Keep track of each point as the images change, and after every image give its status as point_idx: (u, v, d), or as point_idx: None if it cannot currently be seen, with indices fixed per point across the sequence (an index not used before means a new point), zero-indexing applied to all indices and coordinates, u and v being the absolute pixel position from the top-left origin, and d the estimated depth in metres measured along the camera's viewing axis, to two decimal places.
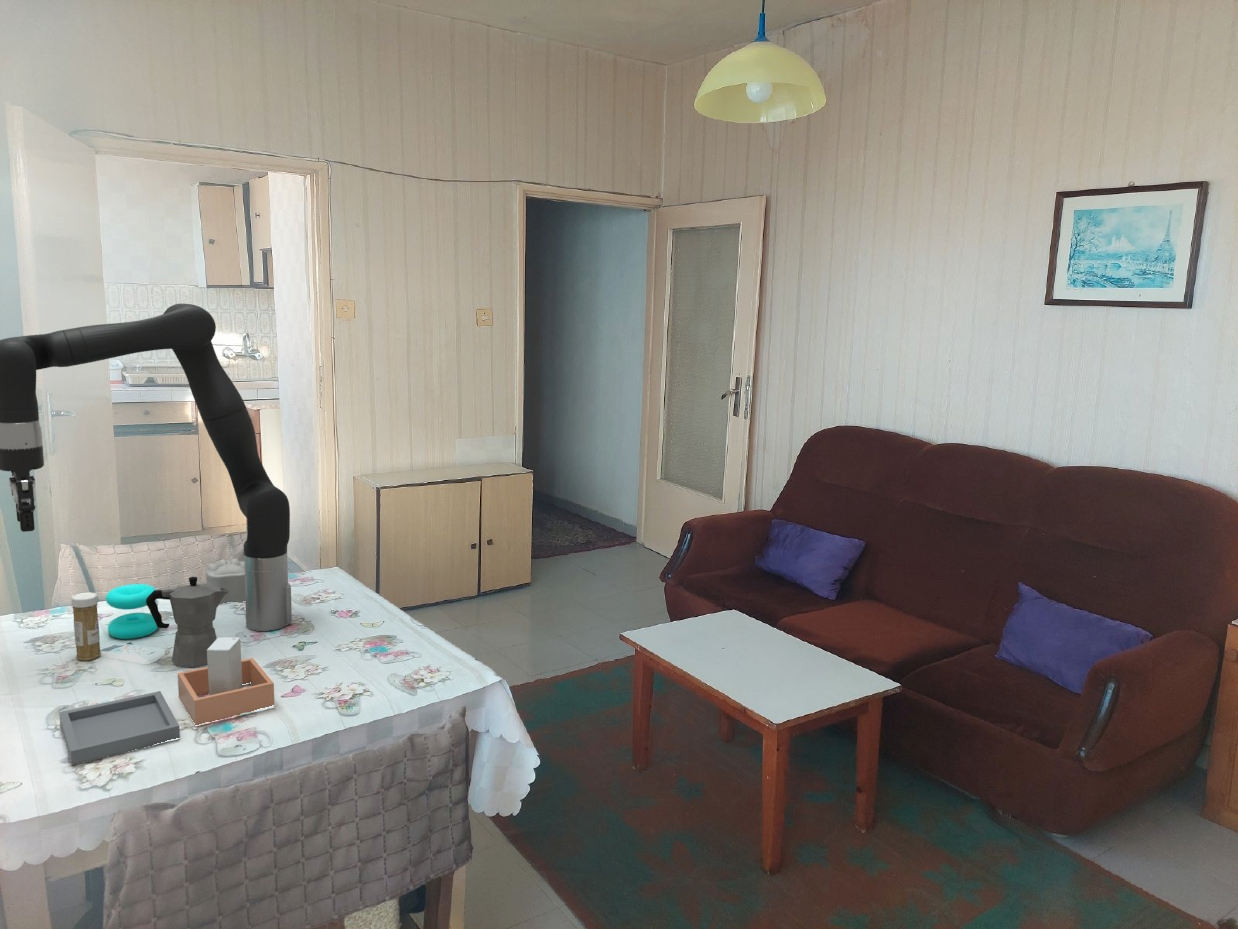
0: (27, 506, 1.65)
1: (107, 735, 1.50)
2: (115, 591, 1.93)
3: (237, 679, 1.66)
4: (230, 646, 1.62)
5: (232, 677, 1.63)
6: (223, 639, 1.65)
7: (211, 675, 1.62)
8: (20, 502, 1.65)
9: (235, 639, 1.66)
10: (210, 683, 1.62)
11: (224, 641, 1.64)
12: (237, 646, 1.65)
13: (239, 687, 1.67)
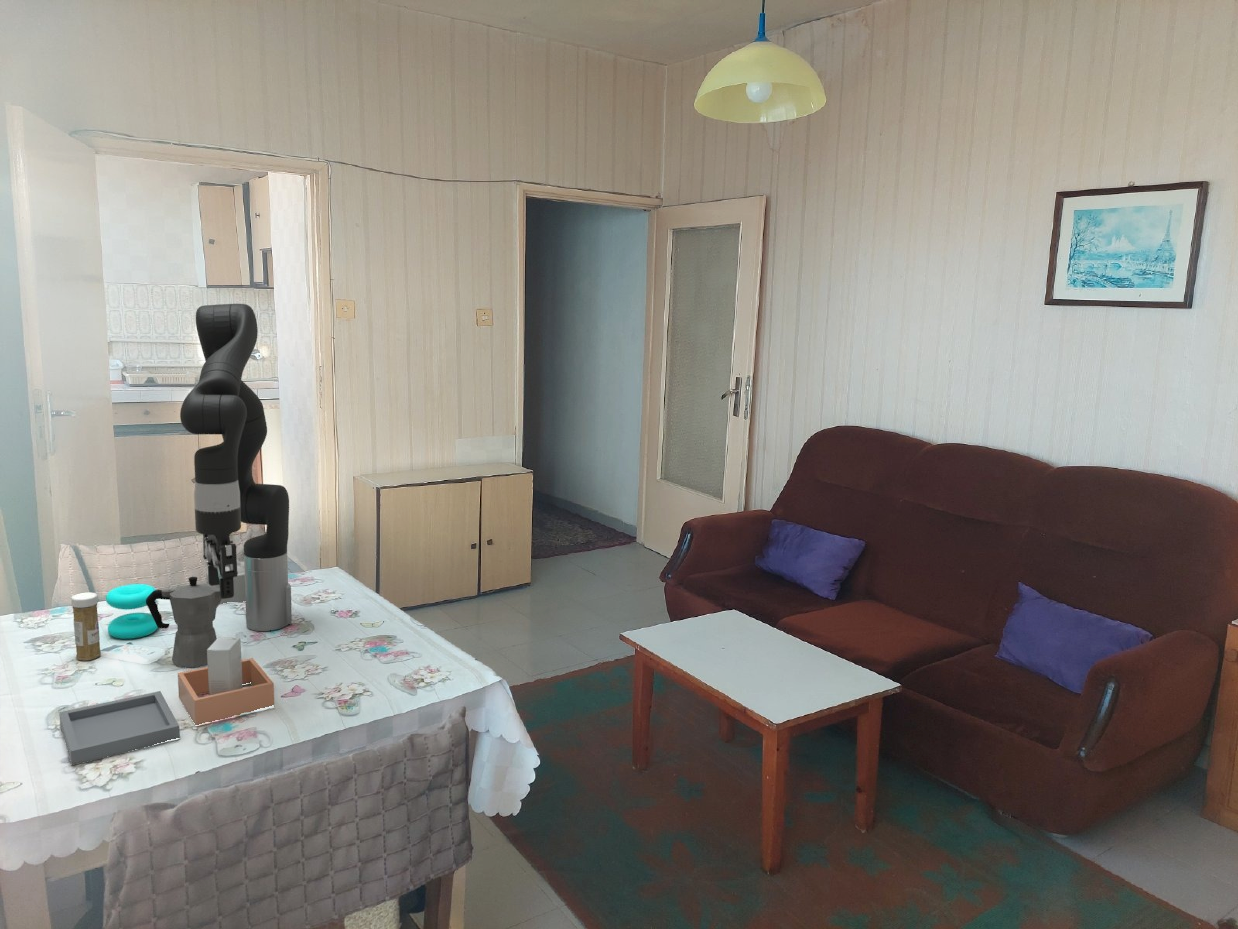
0: (230, 572, 1.55)
1: (107, 735, 1.50)
2: (115, 591, 1.93)
3: (237, 679, 1.66)
4: (230, 646, 1.62)
5: (232, 677, 1.63)
6: (223, 639, 1.65)
7: (211, 675, 1.62)
8: (224, 569, 1.54)
9: (235, 639, 1.66)
10: (210, 683, 1.62)
11: (224, 641, 1.64)
12: (237, 646, 1.65)
13: (239, 687, 1.67)
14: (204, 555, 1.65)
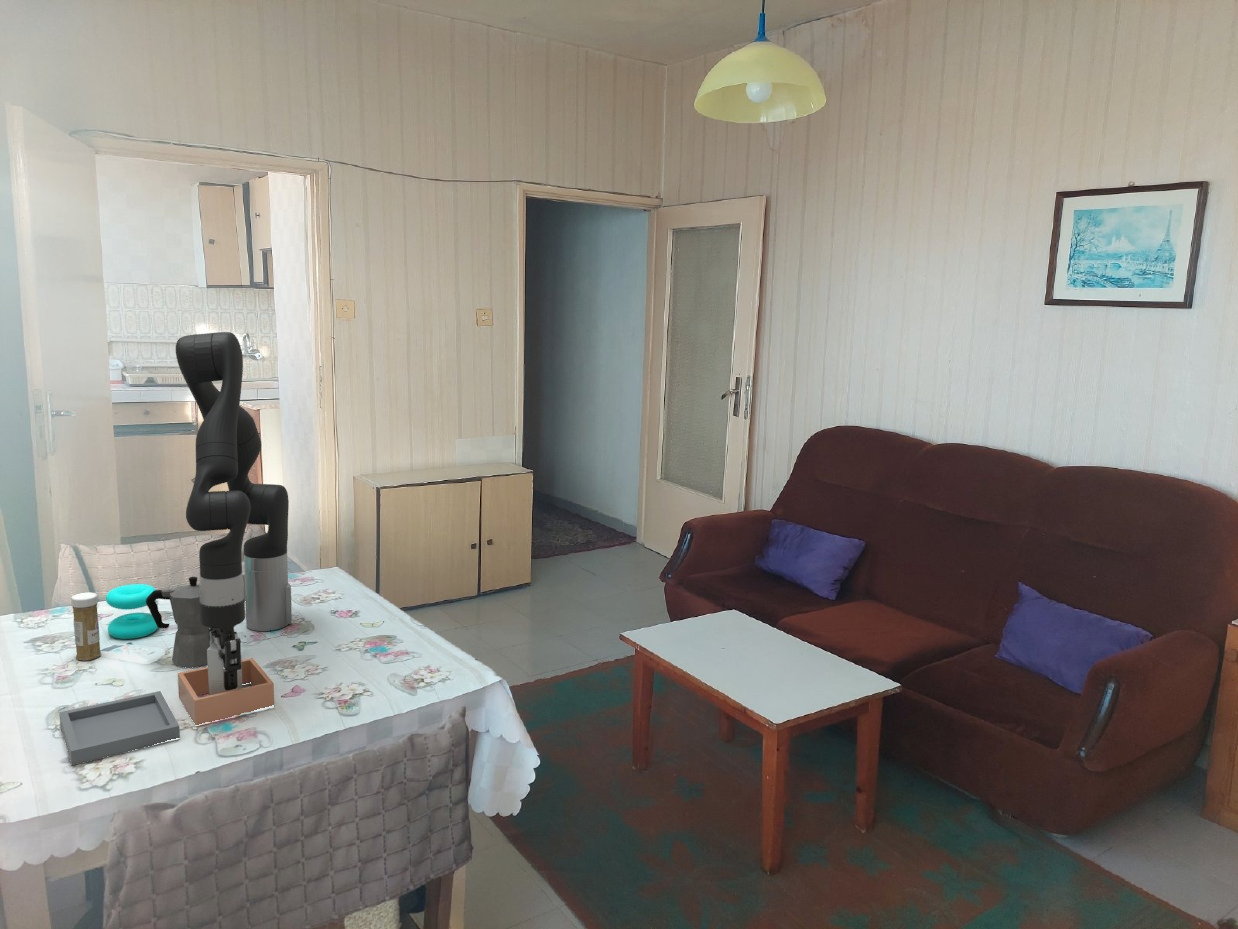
0: (234, 666, 1.59)
1: (107, 735, 1.50)
2: (115, 591, 1.93)
3: (237, 679, 1.66)
4: None
5: None
6: None
7: (211, 675, 1.62)
8: (228, 663, 1.58)
9: None
10: (210, 683, 1.62)
11: None
12: None
13: (239, 687, 1.67)
14: (209, 645, 1.68)
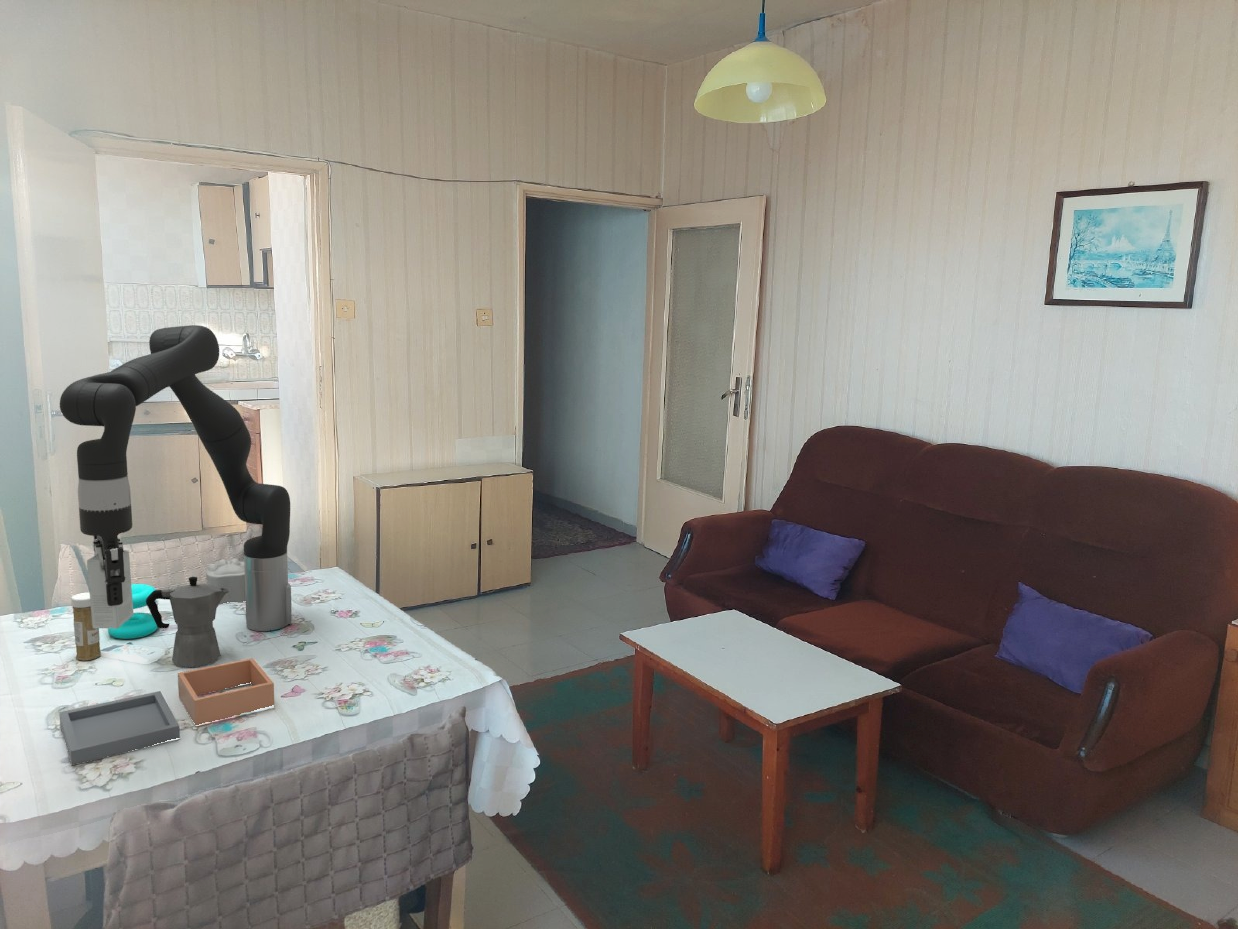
0: (116, 578, 1.43)
1: (107, 735, 1.50)
2: None
3: (125, 596, 1.50)
4: None
5: None
6: None
7: (93, 589, 1.45)
8: (109, 574, 1.42)
9: None
10: (92, 598, 1.46)
11: None
12: (125, 559, 1.49)
13: (128, 605, 1.50)
14: None
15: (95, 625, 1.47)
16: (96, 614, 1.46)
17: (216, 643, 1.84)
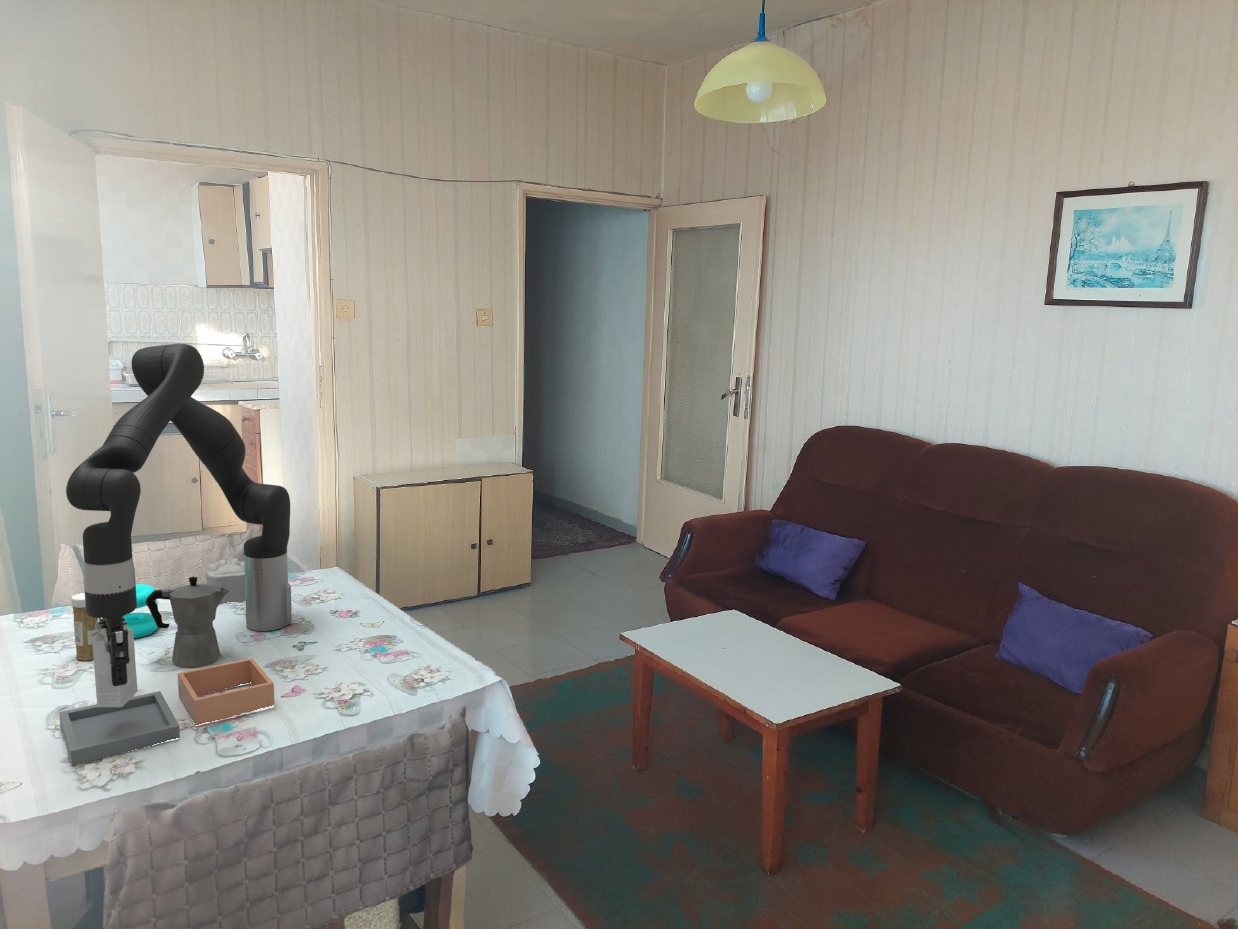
0: (121, 660, 1.45)
1: (107, 735, 1.50)
2: None
3: (130, 674, 1.52)
4: None
5: None
6: None
7: (98, 669, 1.48)
8: (114, 657, 1.45)
9: None
10: (97, 678, 1.48)
11: None
12: (129, 638, 1.52)
13: (132, 683, 1.53)
14: None
15: (100, 704, 1.49)
16: (101, 694, 1.49)
17: (216, 643, 1.84)
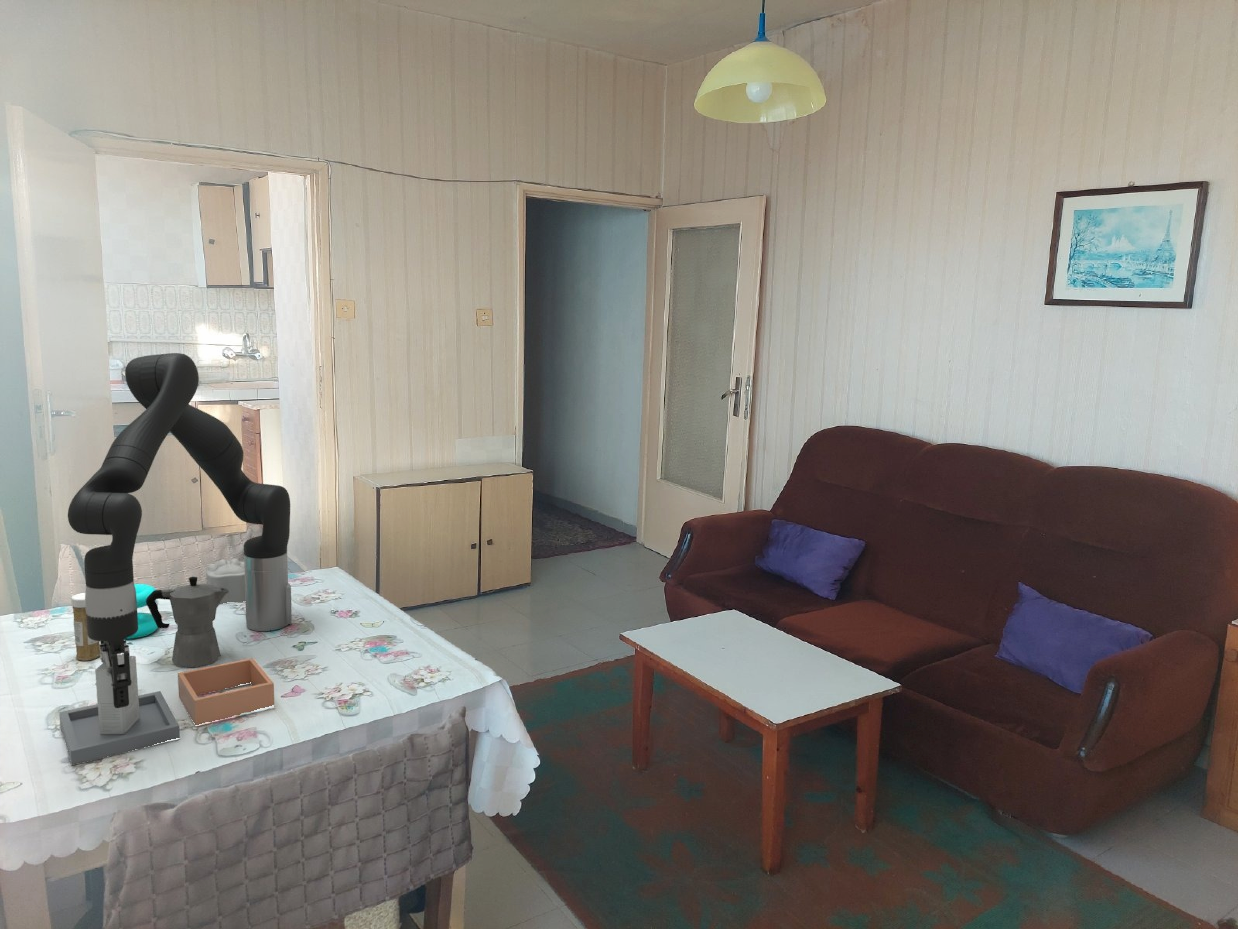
0: (123, 682, 1.46)
1: (107, 735, 1.50)
2: None
3: (132, 701, 1.53)
4: None
5: None
6: None
7: (100, 697, 1.49)
8: (115, 678, 1.45)
9: (129, 657, 1.53)
10: (99, 706, 1.49)
11: None
12: (132, 665, 1.53)
13: (134, 709, 1.54)
14: None
15: (102, 731, 1.50)
16: (103, 721, 1.50)
17: (216, 643, 1.84)
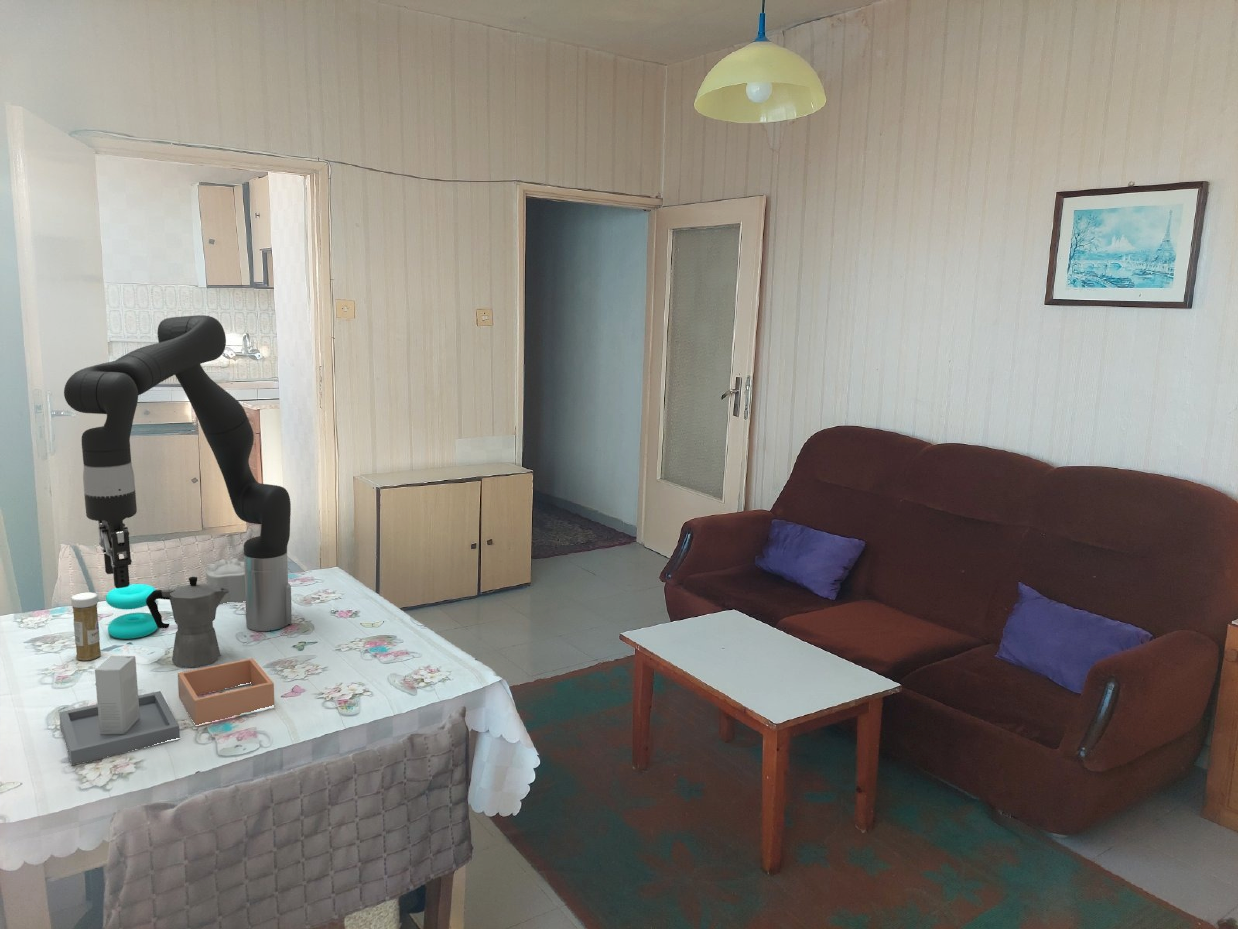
0: (123, 560, 1.46)
1: (107, 735, 1.50)
2: (115, 591, 1.93)
3: (132, 701, 1.53)
4: (122, 665, 1.50)
5: (123, 699, 1.50)
6: (116, 657, 1.53)
7: (100, 697, 1.49)
8: (116, 556, 1.45)
9: (129, 657, 1.53)
10: (99, 706, 1.49)
11: (116, 660, 1.52)
12: (131, 665, 1.53)
13: (134, 709, 1.54)
14: None
15: (102, 731, 1.50)
16: (103, 721, 1.50)
17: (216, 643, 1.84)
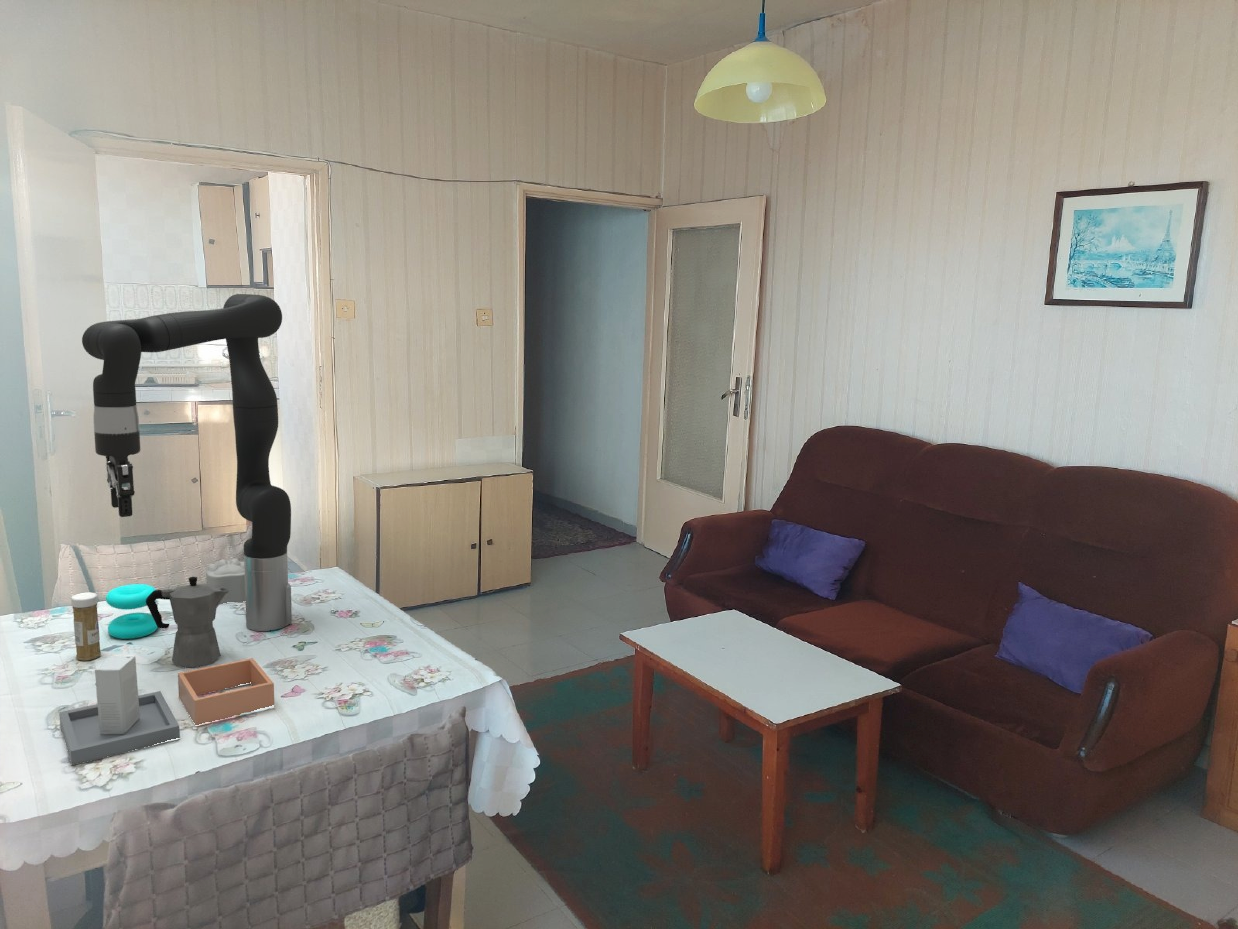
0: (127, 491, 1.65)
1: (107, 735, 1.50)
2: (115, 591, 1.93)
3: (132, 701, 1.53)
4: (122, 665, 1.50)
5: (123, 699, 1.50)
6: (116, 657, 1.53)
7: (100, 697, 1.49)
8: (120, 487, 1.64)
9: (129, 658, 1.53)
10: (99, 706, 1.49)
11: (116, 660, 1.52)
12: (131, 665, 1.53)
13: (134, 709, 1.54)
14: (107, 479, 1.74)
15: (102, 731, 1.50)
16: (103, 721, 1.50)
17: (216, 643, 1.84)
